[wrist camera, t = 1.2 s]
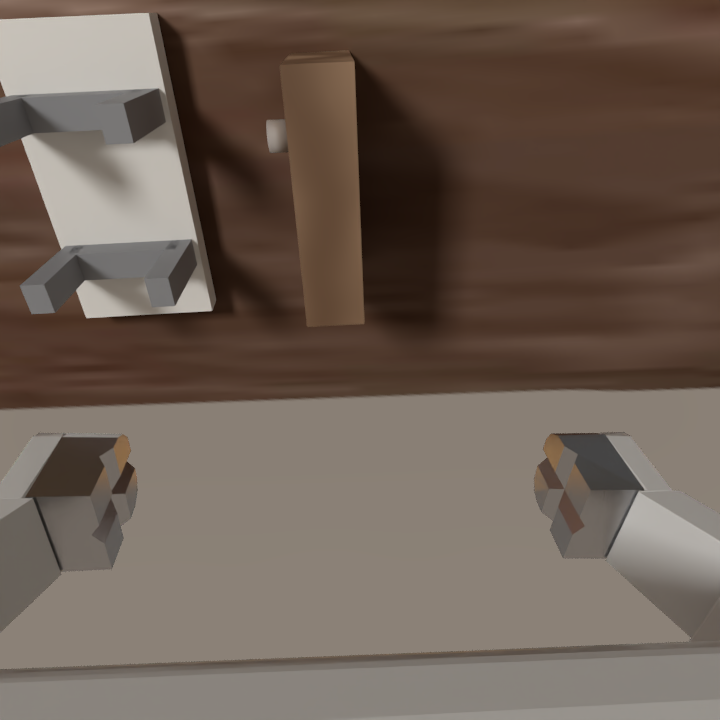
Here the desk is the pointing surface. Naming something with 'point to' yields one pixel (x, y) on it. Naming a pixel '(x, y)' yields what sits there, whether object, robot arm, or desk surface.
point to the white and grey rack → (105, 164)
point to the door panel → (323, 181)
